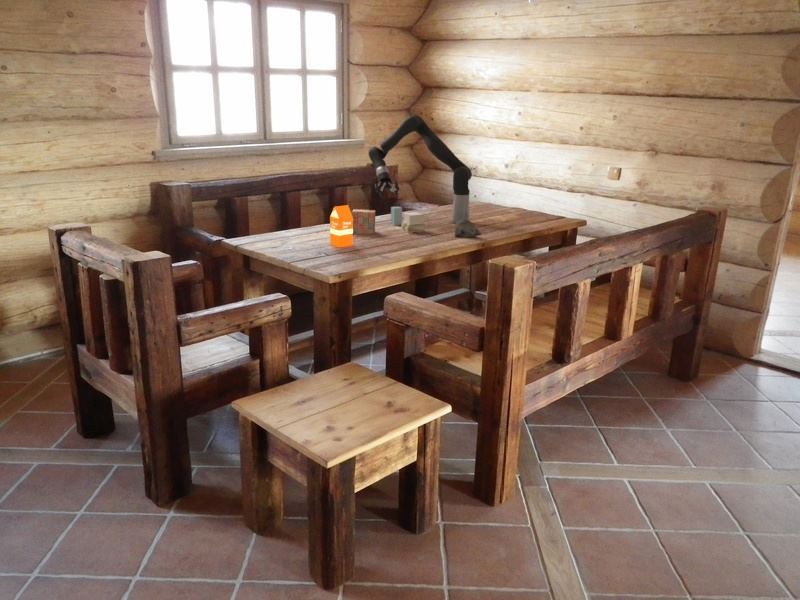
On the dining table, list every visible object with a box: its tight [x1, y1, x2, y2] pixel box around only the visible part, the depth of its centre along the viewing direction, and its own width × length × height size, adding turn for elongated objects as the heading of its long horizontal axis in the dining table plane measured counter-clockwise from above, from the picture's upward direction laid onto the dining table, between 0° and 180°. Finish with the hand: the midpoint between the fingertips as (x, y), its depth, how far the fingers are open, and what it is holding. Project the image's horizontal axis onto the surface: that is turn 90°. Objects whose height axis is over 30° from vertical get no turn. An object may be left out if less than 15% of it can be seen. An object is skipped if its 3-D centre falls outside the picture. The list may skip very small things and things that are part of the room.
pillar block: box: [390, 206, 403, 226], centre depth 399 cm, size 5×5×10 cm
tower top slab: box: [403, 211, 424, 224], centre depth 383 cm, size 8×8×5 cm
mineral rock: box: [454, 219, 482, 238], centre depth 370 cm, size 13×11×10 cm
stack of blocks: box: [351, 209, 376, 234], centre depth 376 cm, size 21×6×12 cm, turn 85°
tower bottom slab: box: [400, 220, 426, 234], centre depth 384 cm, size 10×10×5 cm
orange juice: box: [329, 204, 354, 248], centre depth 346 cm, size 8×9×20 cm
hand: (389, 197), depth 406 cm, fingers open, 8 cm apart
